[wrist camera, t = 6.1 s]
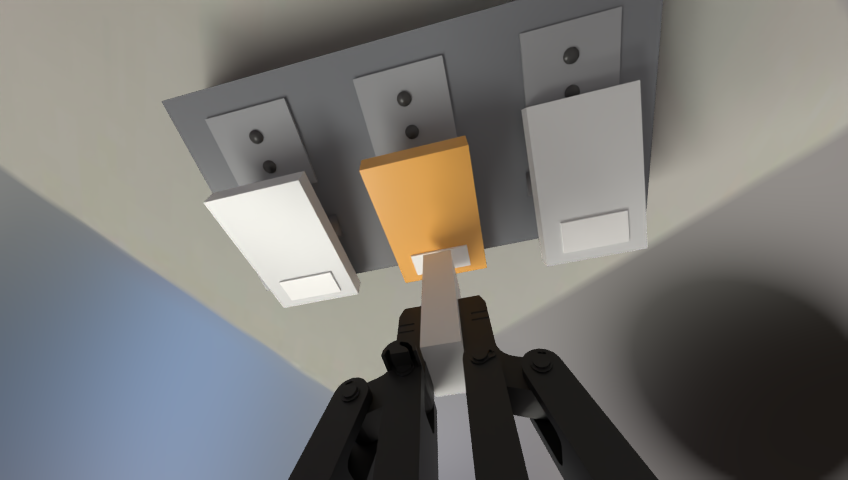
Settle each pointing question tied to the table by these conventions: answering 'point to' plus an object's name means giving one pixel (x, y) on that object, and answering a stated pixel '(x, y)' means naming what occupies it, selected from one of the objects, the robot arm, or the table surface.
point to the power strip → (423, 108)
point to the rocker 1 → (286, 239)
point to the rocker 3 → (588, 174)
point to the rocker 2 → (427, 204)
